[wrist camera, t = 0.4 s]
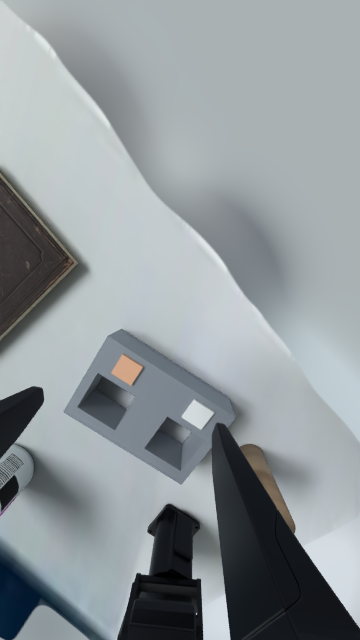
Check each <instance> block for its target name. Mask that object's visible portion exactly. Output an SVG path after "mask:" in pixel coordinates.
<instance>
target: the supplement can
mask: <svg viewBox="0 0 360 640" xmlns="http://www.w3.org/2000/svg"><path fill="white" fill-rule="evenodd" d="M33 470H34V463H33V459H32V457H31V456H30V454H29V453H28V452H27V451H26V450H25V449H24V448H22V447H20V446H18V445H15V444H13V445H12V446H11V447H10V448H9V449H8V451H7V452H6V453H5V454H4V455H3V457H2V458H1V459H0V516H1V515H2V514H3V512H4V511H5V510H6V509H7V508H8V507H9V505H10V504H11V503H12V502H13V501H14V500H15V498H16V497H17V496H18V495H19V494H20V492H21V491H22V490H23V489H24V488H25V487H26V485H27V484H28V483H29V482H30V480H31V479H32V477H33Z"/></svg>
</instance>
